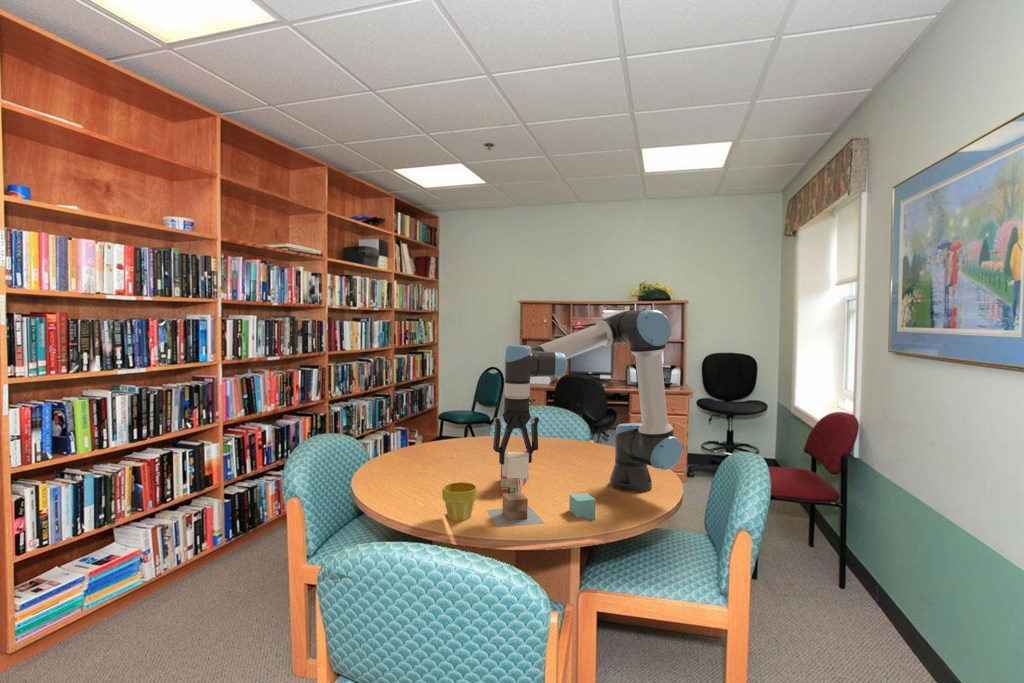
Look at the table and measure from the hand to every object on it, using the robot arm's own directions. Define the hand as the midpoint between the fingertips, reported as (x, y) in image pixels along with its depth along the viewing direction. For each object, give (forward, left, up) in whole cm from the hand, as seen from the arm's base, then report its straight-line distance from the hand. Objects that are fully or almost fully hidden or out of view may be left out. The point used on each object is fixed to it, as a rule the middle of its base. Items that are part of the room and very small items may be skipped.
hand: (515, 474), depth 151 cm
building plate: (0, 0, -14) cm, 14 cm away
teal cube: (-21, +2, -14) cm, 25 cm away
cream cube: (0, 0, 0) cm, 0 cm away
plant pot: (+16, -4, -14) cm, 21 cm away
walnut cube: (0, 0, -13) cm, 13 cm away
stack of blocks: (-9, -31, -14) cm, 35 cm away
